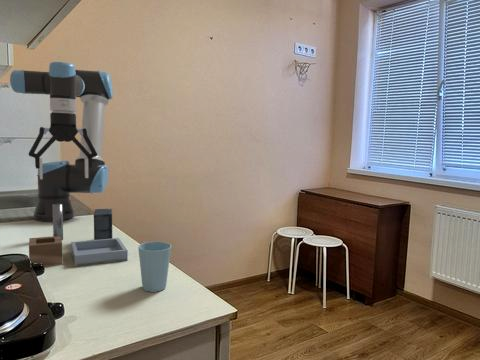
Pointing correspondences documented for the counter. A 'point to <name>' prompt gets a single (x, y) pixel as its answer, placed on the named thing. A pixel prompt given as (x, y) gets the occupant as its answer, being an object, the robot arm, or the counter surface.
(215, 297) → the counter surface
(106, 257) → the tray
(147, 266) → the cup
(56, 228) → the pin gauge
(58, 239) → the wooden slotted block
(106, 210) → the box
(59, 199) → the robot arm
